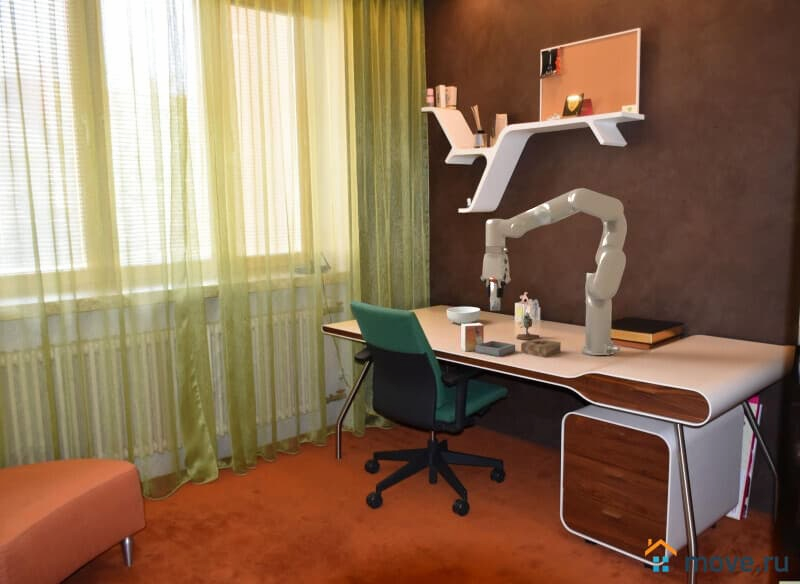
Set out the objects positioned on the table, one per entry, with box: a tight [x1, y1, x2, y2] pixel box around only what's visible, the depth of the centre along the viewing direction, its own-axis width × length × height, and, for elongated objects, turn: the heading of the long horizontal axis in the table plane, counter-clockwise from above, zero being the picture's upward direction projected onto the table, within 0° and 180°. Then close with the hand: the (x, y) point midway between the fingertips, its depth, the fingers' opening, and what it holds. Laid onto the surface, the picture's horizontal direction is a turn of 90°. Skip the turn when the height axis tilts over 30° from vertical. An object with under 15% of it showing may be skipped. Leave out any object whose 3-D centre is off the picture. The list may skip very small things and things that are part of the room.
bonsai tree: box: [516, 311, 540, 342], centre depth 284 cm, size 11×9×12 cm
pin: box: [489, 278, 501, 312], centre depth 256 cm, size 5×5×13 cm
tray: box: [475, 340, 516, 358], centre depth 259 cm, size 11×11×3 cm
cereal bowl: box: [446, 306, 481, 325], centre depth 322 cm, size 17×17×7 cm
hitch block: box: [520, 338, 561, 358], centre depth 257 cm, size 11×11×4 cm
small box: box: [460, 322, 485, 352], centre depth 264 cm, size 8×6×10 cm
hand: (495, 296), depth 256 cm, fingers closed on pin, 4 cm apart
